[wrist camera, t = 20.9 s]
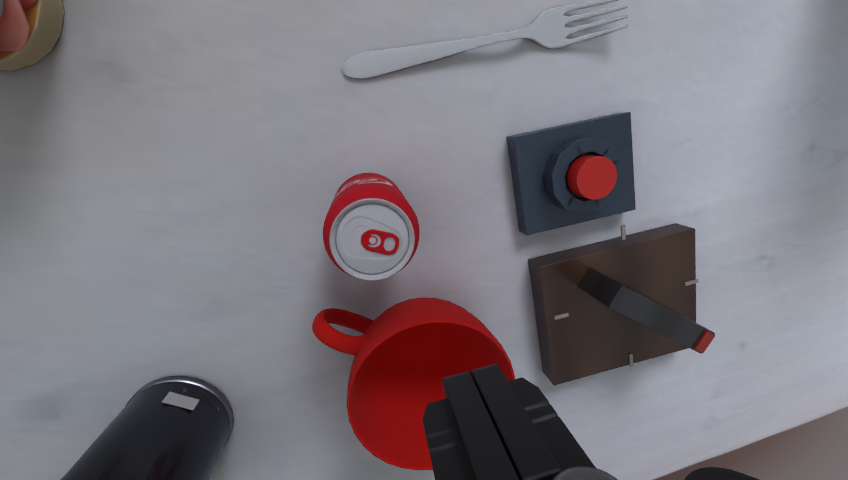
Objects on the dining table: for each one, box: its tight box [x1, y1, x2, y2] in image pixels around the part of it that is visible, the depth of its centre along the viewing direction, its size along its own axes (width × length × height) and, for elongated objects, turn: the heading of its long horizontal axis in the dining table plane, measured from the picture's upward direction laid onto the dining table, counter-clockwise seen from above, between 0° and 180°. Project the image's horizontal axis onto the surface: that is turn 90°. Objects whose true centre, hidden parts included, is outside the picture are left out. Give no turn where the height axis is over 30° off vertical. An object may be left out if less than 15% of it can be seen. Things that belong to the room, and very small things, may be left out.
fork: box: [342, 0, 628, 79], centre depth 33 cm, size 3×24×2 cm, turn 101°
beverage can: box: [323, 173, 419, 281], centre depth 30 cm, size 6×6×12 cm
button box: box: [507, 112, 635, 235], centre depth 36 cm, size 11×9×4 cm
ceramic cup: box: [312, 298, 515, 470], centre depth 34 cm, size 13×17×10 cm
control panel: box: [529, 224, 698, 385], centre depth 41 cm, size 16×15×3 cm
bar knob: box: [578, 267, 715, 353], centre depth 37 cm, size 11×2×5 cm, turn 62°
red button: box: [567, 155, 617, 200], centre depth 34 cm, size 4×4×2 cm
